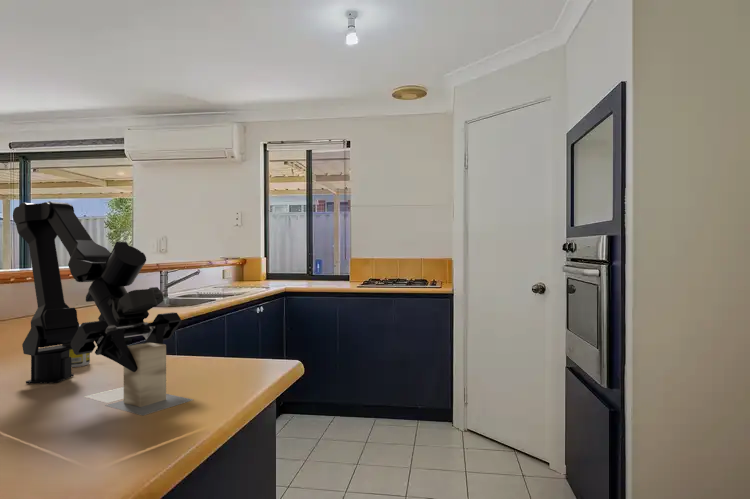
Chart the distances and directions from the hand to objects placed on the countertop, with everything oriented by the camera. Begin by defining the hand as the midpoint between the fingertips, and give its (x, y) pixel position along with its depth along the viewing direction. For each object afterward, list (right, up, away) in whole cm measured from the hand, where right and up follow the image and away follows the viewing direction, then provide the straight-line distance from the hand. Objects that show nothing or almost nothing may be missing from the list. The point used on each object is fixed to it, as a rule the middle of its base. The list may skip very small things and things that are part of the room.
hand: (149, 367), depth 86 cm
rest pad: (-9, -7, +5) cm, 12 cm away
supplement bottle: (-33, -8, +32) cm, 47 cm away
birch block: (-1, -6, +1) cm, 6 cm away
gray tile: (0, -7, 0) cm, 7 cm away
